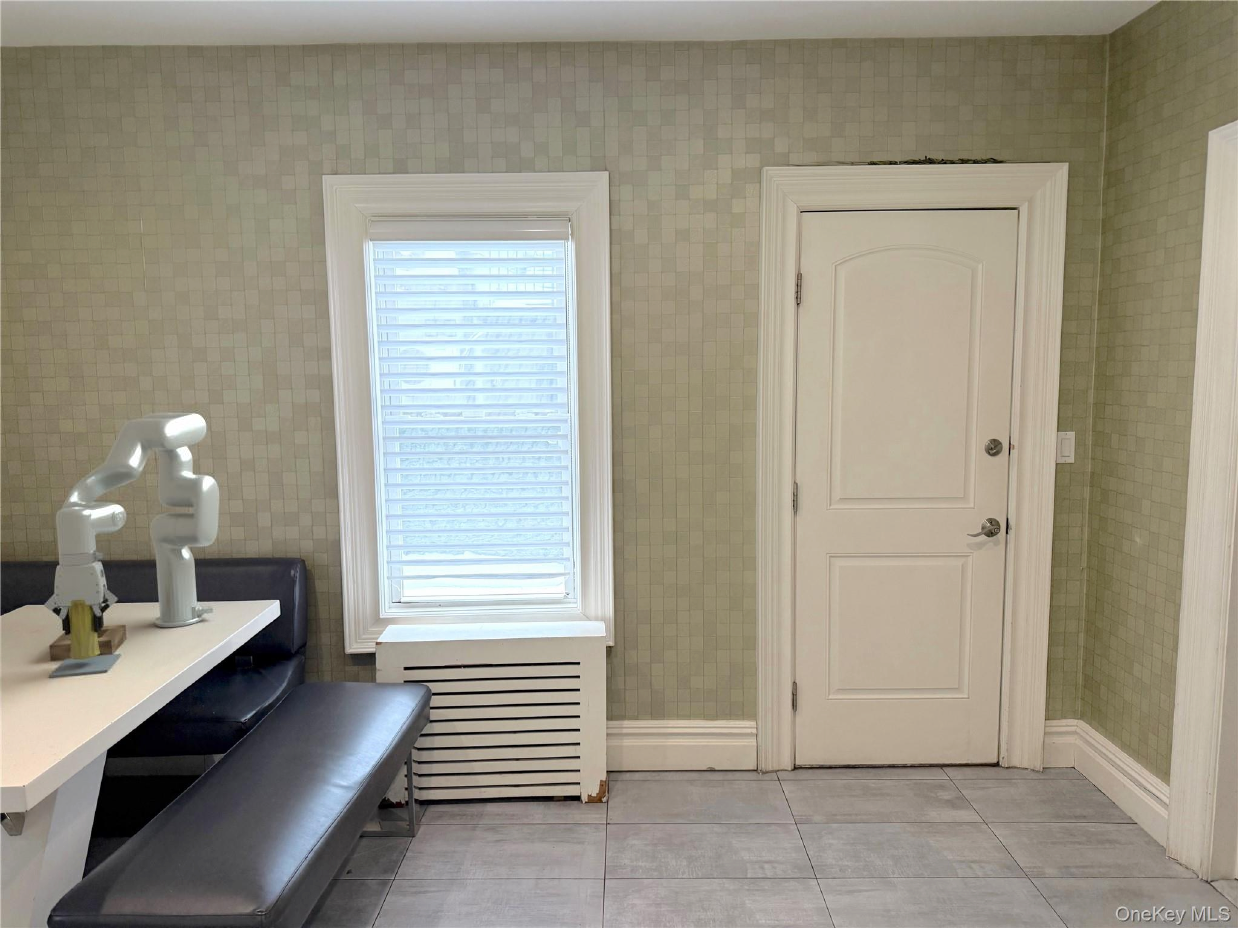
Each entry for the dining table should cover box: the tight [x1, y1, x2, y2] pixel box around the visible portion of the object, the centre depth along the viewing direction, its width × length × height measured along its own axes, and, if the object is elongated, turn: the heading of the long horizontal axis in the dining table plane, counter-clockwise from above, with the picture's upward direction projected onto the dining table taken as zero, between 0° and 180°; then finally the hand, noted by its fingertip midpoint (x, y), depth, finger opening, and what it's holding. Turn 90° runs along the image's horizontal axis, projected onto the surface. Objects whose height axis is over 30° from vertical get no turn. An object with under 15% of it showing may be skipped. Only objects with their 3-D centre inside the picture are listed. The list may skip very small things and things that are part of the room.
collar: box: [48, 624, 127, 662], centre depth 211 cm, size 14×14×4 cm
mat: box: [48, 653, 122, 679], centre depth 199 cm, size 12×12×1 cm
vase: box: [68, 600, 100, 659], centre depth 198 cm, size 6×6×14 cm
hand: (83, 631), depth 198 cm, fingers closed on vase, 5 cm apart
